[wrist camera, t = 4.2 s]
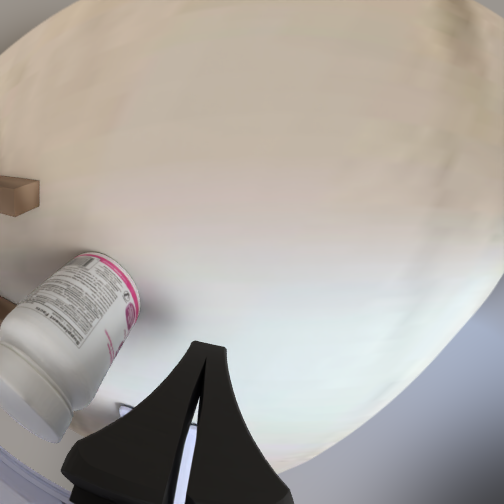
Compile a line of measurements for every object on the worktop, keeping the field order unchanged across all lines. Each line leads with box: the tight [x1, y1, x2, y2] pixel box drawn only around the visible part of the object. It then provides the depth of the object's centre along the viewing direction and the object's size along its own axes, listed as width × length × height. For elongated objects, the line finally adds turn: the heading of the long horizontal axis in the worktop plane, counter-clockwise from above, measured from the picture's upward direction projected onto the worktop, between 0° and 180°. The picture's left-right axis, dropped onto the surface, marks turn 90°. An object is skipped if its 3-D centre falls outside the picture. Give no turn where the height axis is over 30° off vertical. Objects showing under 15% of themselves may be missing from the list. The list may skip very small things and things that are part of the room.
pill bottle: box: [0, 252, 140, 443], centre depth 9 cm, size 5×5×8 cm
